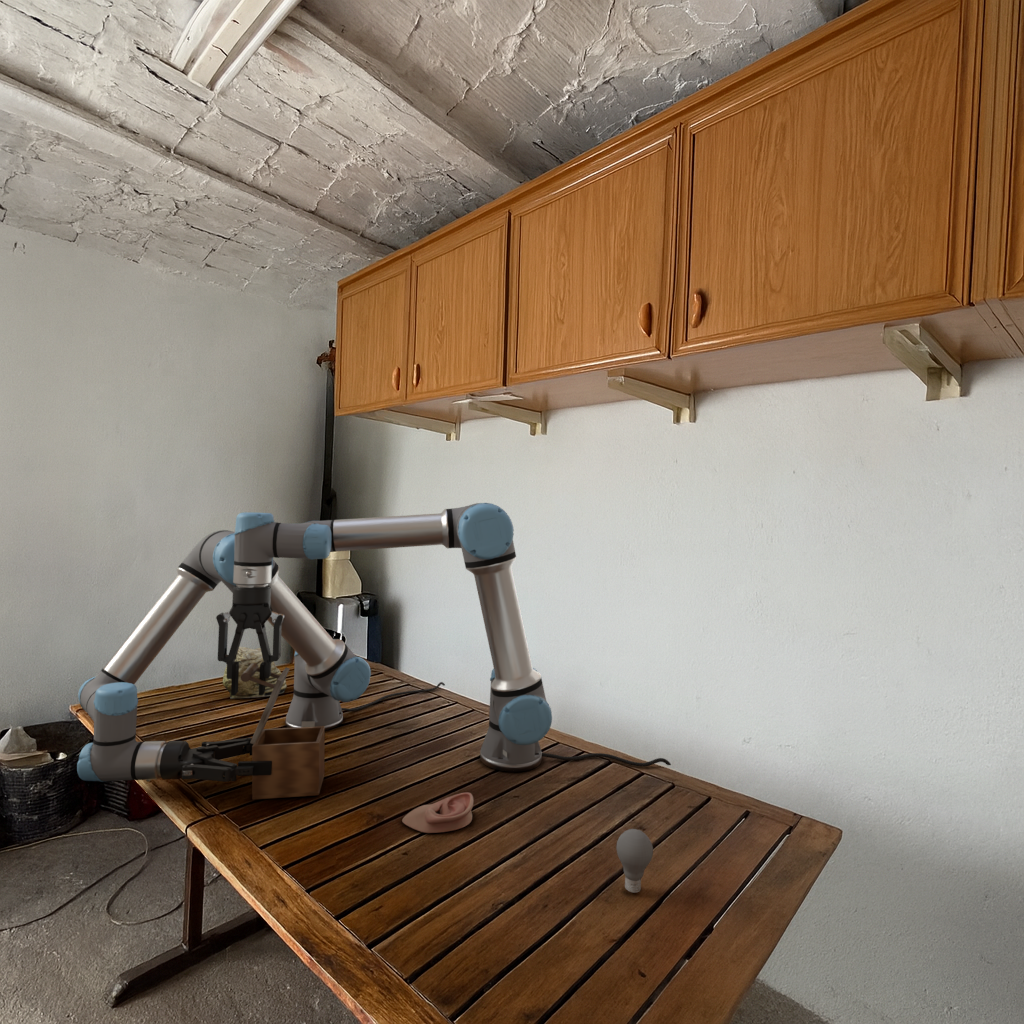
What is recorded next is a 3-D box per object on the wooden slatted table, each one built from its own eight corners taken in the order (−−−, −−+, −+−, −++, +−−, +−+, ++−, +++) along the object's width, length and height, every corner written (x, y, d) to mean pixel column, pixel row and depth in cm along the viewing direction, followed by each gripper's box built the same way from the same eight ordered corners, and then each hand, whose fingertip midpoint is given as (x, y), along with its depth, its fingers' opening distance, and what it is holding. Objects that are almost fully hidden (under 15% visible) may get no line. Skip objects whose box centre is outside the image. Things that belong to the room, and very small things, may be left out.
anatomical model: (396, 808, 122) (417, 782, 133) (395, 828, 122) (416, 801, 133) (463, 818, 119) (478, 791, 130) (462, 839, 119) (477, 810, 131)
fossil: (218, 695, 195) (220, 647, 195) (278, 685, 208) (279, 640, 207) (228, 703, 189) (230, 653, 188) (289, 692, 201) (290, 645, 201)
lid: (289, 668, 141) (254, 655, 140) (281, 681, 132) (243, 667, 130) (264, 727, 141) (228, 715, 139) (254, 744, 131) (216, 731, 130)
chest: (324, 775, 143) (324, 725, 143) (318, 795, 134) (319, 742, 133) (262, 779, 141) (262, 729, 141) (252, 799, 131) (252, 746, 131)
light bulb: (610, 879, 108) (613, 822, 108) (644, 879, 109) (647, 822, 109) (619, 902, 102) (622, 840, 102) (655, 901, 103) (658, 840, 103)
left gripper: (182, 756, 144) (284, 754, 148) (142, 803, 122) (264, 799, 126) (183, 723, 144) (286, 722, 147) (143, 764, 122) (266, 761, 125)
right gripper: (201, 586, 130) (197, 699, 130) (293, 588, 133) (289, 698, 133) (212, 581, 137) (208, 688, 137) (298, 583, 140) (294, 687, 140)
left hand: (276, 757), depth 137 cm, fingers closed on chest, 10 cm apart
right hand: (248, 693), depth 135 cm, fingers open, 5 cm apart
